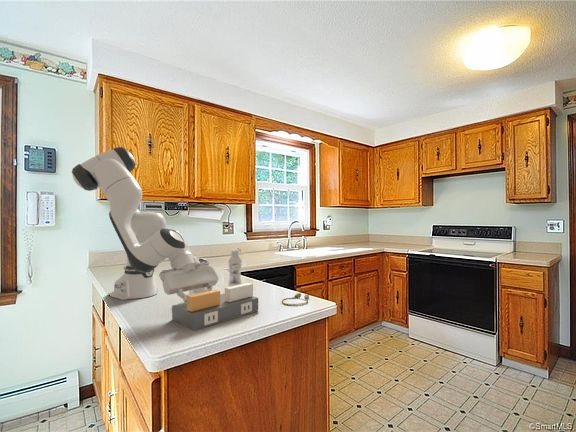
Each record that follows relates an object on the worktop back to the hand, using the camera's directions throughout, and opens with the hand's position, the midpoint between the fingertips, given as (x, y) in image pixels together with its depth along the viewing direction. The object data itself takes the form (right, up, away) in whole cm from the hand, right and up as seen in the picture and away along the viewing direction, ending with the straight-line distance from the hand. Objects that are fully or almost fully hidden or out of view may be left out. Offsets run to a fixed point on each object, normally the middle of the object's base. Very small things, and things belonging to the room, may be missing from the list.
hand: (199, 298), depth 104 cm
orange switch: (+2, -2, -3) cm, 5 cm away
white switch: (+13, -2, +8) cm, 15 cm away
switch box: (+3, -8, +7) cm, 10 cm away
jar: (-8, -8, +26) cm, 28 cm away
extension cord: (+35, -8, +23) cm, 43 cm away
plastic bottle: (+6, -8, +38) cm, 40 cm away
